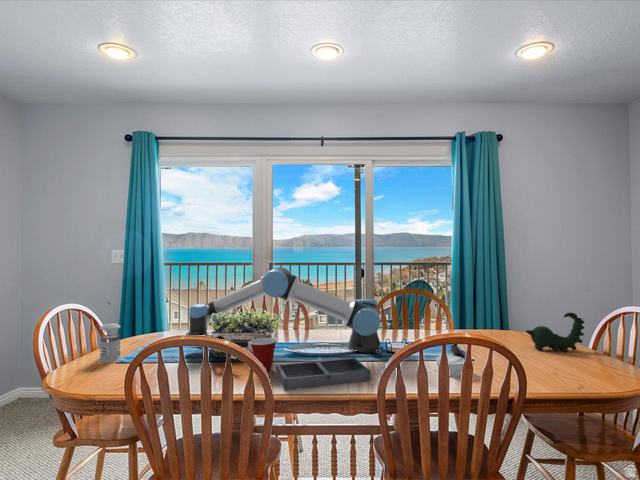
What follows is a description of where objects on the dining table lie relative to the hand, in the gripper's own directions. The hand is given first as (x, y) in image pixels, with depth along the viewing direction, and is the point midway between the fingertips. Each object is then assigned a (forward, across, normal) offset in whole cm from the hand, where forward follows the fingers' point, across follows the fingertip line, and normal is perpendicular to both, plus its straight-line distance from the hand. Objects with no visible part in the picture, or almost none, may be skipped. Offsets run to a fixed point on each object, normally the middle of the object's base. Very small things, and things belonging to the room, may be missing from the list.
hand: (248, 351), depth 168 cm
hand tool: (+65, -64, -7) cm, 91 cm away
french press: (-57, +26, -6) cm, 63 cm away
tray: (+32, -6, -6) cm, 33 cm away
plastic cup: (+8, 0, -6) cm, 10 cm away
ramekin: (+70, -39, -7) cm, 81 cm away
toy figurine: (+101, -96, -7) cm, 139 cm away
